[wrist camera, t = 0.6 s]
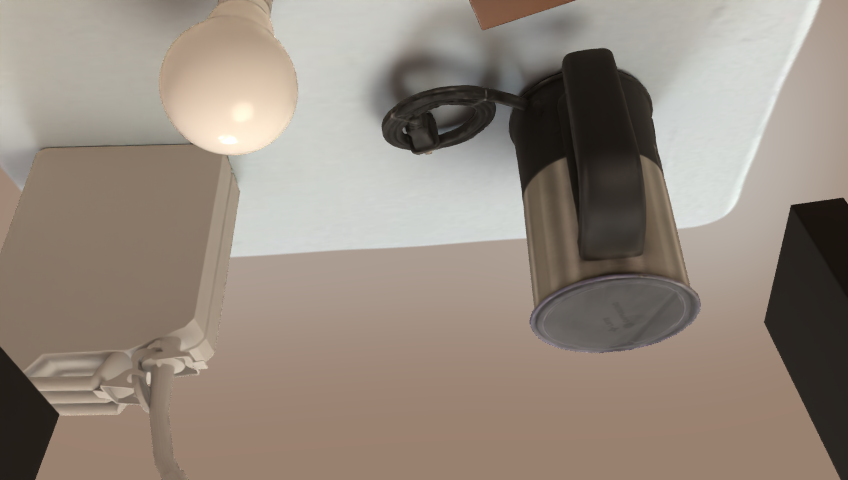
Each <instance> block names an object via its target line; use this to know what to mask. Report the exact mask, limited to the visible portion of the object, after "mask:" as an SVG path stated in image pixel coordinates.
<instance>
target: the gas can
mask: <svg viewBox="0 0 848 480" xmlns="http://www.w3.org/2000/svg"><path fill="white" fill-rule="evenodd" d="M239 195H240V190H239V188H238V185H237V182H236V180H235V177H234V174H233V173H232V172H231V166H230V163H229V160H228V158H227V155H222V154H216V153H212V152H209V151H206V150H204V149H202V148H200V147H198V146H196V145H194V144H189V145H147V146H106V147H64V148H46V149H43V150H41V151H40V152H38V153H36V155H35V158H34V161H33V164H32V167H31V169H30V172H29V175H28V178H27V181H26V183H25V186H24V189H23V192H22V194H21V198H20V200H19V203H18V206H17V209H16V211H15V214H14V217H13V220H12V222H11V225H10V228H9V231H8V234H7V237H6V239H5V242H4V245H3V248H2V251H1V253H0V347H1V348H2V349H3V350H4V351H5V352H6V353H7V355H8V356H9V357H10V358H11V359H12V360H13V361H14V363H15V364H16V365H17V366H18V367H19V368H20V370H21V371H22V372H23V373H24V374H25V375H26V376H27V378H28V379H29V380H30V381H31V382H32V383H33V384H34V386H35V387H36V388H37V389H38V390H39V391H40V392H41V394H42V395H43V396H44V397H45V398H46V399H47V401H48V402H49V403H50V404H51V405H52V406H53V407H54V409H55V410H56V411H57V412H58V413H59V414H60V415H108V414H109V415H112V414H119V413H120V412H121V411H122V410H123V409H124V408H125V407H126V406H127V405H128V404H133V405H141V406H142V408H143V409H144V410H145V412H147V413H149V417H150V426H151V435H152V444H153V454H154V462H155V466H156V468H157V470H158V472H159V473H160V476H161V478H162V480H189V479H188V477H187V476H186V474H185V473H184V471H183V470H180V468H179V466H178V464H177V462H176V460H175V459H174V456H173V448H172V439H171V430H170V421H169V405H170V398H171V391H172V385H173V378H174V377H182V376H191V375H199V374H200V369H206V368H208V365H207V364H206V362H207V361H208V360H209V359H210V357H212V356H213V355H214V354H215V350H216V343H217V337H218V330H219V324H220V317H221V310H222V304H223V298H224V292H225V285H226V279H227V272H228V266H229V259H230V253H231V246H232V240H233V233H234V227H235V220H236V214H237V207H238V201H239ZM193 367H194V368H195V369H196V370H193V369H191V368H193ZM147 384H151V385H150V387H149V386H148V385H147ZM99 388H100V389H99Z"/></svg>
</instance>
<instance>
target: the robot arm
mask: <svg viewBox="0 0 848 480" xmlns="http://www.w3.org/2000/svg"><path fill="white" fill-rule="evenodd" d="M764 323H765V325H766V327H767V329H768V331H769V333H770V336H771V337H772V340H773V342H774V344H775V346H776V348H777V350H778V351H779V354H780V356H781V358H782V360H783V362H784V364H785V366H786V368H787V370H788V372H789V375H790V376H791V379H792V381H793V383H794V385H795V387H796V389H797V391H798V393H799V395H800V397H801V399H802V401H803V403H804V405H805V407H806V409H807V411H808V413H809V415H810V418H811V420H812V422H813V424H814V426H815V428H816V430H817V432H818V434H819V436H820V438H821V440H822V442H823V444H824V446H825V448H826V450H827V452H828V454H829V456H830V458H831V461H832V463H833V465H834V466H835V469H836V471H837V473H838V475H839V477H840V479H841V480H848V204H847V202H846V201H845V199H844V198H837V199H831V200H824V201H816V202H810V203H802V204H795V205H791V208H790V212H789V217H788V221H787V225H786V230H785V234H784V238H783V242H782V247H781V251H780V255H779V260H778V264H777V269H776V273H775V277H774V282H773V286H772V290H771V295H770V299H769V304H768V308H767V312H766V317H765V321H764ZM59 415H60V414H59V413H58V412H57V411H56V410H55V409H54V407H53V406H52V405H51V404H50V403H49V402H48V401H47V399H46V398H45V397H44V396H43V395H42V394H41V392H40V391H39V390H38V389H37V388H36V387H35V386H34V384H33V383H32V382H31V381H30V380H29V379H28V378H27V376H26V375H25V374H24V373H23V372H22V371H21V370H20V368H19V367H18V366H17V365H16V364H15V363H14V361H13V360H12V359H11V358H10V357H9V356H8V355H7V353H6V352H5V351H4V350H3V349H2V348H1V347H0V480H35V479H36V475H37V473H38V470H39V468H40V465H41V462H42V460H43V457H44V455H45V452H46V449H47V447H48V444H49V441H50V438H51V436H52V433H53V431H54V428H55V425H56V423H57V420H58V417H59Z"/></svg>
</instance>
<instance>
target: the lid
mask: <svg viewBox="0 0 848 480" xmlns="http://www.w3.org/2000/svg"><path fill="white" fill-rule="evenodd" d="M469 1H470V4H471V6H472V8H473V11H474V13H475V15H476V17H477V20H478V22H479V24H480V26H481V29H482V30H486V29H489V28H492V27H495V26H498V25H501V24H504V23H507V22H510V21H513V20H516V19H519V18H523V17H526V16H529V15H532V14H535V13H538V12H541V11H544V10H547V9H550V8H553V7H556V6H559V5H563V4H566V3H569V2H572V1H575V0H469Z"/></svg>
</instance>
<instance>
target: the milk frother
mask: <svg viewBox="0 0 848 480" xmlns="http://www.w3.org/2000/svg"><path fill="white" fill-rule="evenodd" d="M562 72H563V73H560V74H557V75H555V76H552V77H550V78H548V79H546V80H544V81H541V82H540V83H538V84H537V85H536V86H534V87H532V88H531V89H530V90H528V91H527V92H526V93H525V94H524V95H523V96H522V97H518V96H515V95H513V94H510V93H506V92H502V91H498V90H494V89H489V88H483V87H478V86H470V85H462V86H447V87H440V88H435V89H431V90H427V91H423V92H420V93H418V94H415V95H413V96H411V97H409V98H407V99H405V100H403V101H401V102H400V103H399V104H397V105H396V106H395V107H394V108H392V109H391V110H390V111H389V112H388V113H387V115H386V116H385V118H384V119H383V122H382V133H383V137H384V138H385V140H386V141H387V142H388V143H390V144H391V145H393V146H395V147H398V148H401V149H407V150H411V151H412V153H413V154H417V155H419V154H423V153H426V154H431V153H432V151H433V150H437V149H440V148H444V147H450V146H453V145H457V144H460V143H462V142H465V141H467V140H469V139H471V138H473V137H474V136H475V135H477V134H478V133H480V132H481V131H482V130H484V128H485V127H487V126H488V125H489V124H490V123H491V121H492V120H493V118H494V116H495V112H496V105H495V103H500V104H504V105H508V106H511V107H514V109H513V111H512V114H511V116H510V121H509V133H510V137H511V140H512V141H513V143H514V145H515V149H516V155H517V160H518V167H519V174H520V181H521V188H522V198H523V205H524V217H525V226H526V235H527V244H528V254H529V263H530V273H531V282H532V291H533V301H534V310H533V312H532V314H531V317H530V325H531V328H532V330H533V332H534V333H535V335H536V336H537V337H538V338H539V339H541V340H542V341H544V342H545V343H548V344H549V345H552V346H555V347H557V348H561V349H565V350H570V351H577V352H589V353H595V352H596V353H597V352H598V353H603V352H613V351H625V350H632V349H634V348H640V347H644V346H648V345H652V344H654V343H658V342H661V341H663V340H665V339H667V338H670V337H672V336H674V335H676V334H677V333H679V332H680V331H682V330H684V329H685V328H686V327H687V326H688V325H690V324H691V323H692V322H693V321H694V320H695V318H696V317H697V315H698V313H699V312H700V307H701V303H700V299H699V296H698V294H697V293H696V292H695V291H694V290H693V289H692V288H691V287H690V283H689V279H688V275H687V271H686V267H685V263H684V258H683V254H682V250H681V246H680V241H679V237H678V232H677V228H676V224H675V220H674V215H673V211H672V207H671V203H670V198H669V194H668V190H667V187H666V183H665V179H664V174H663V169H662V164H661V161H660V157H659V154H658V149H657V145H656V136H655V129H654V124H653V119H652V118H651V117H652V112H653V109H652V101H651V98H650V95H649V93H648V92H647V90H646V88H645V87H644V86H643V85H642V84H641V83H640V82H639V81H637V80H636V79H634V78H633V77H631V76H629V75H627V74H624V73H621V72H618V71H617V67H616V63H615V60H614V56H613V54H612V52H611V51H610V50H608V49H605V48H599V49H589V50H582V51H576V52H572V53H569V54H567V55H566V56H565V57H564V59H563V63H562ZM448 104H449V105H465V106H471V107H474V108H475V109H476V112H475V114H474V115H473V117H472V118H471V119H470V120H468V121H467V122H466V123H464V124H463V125H461V126H460V127H458V128H456V129H454V130H452V131H449V132H446V133H444V134H441V135H438V131H437V127H436V122H435V119H434V117H433V115H432V114H431V113H426V111H428V110H431V109H433V108H437V107H439V106H441V105H448ZM404 127H405V129H406V132H407V134H404V133H403V128H404Z"/></svg>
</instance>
